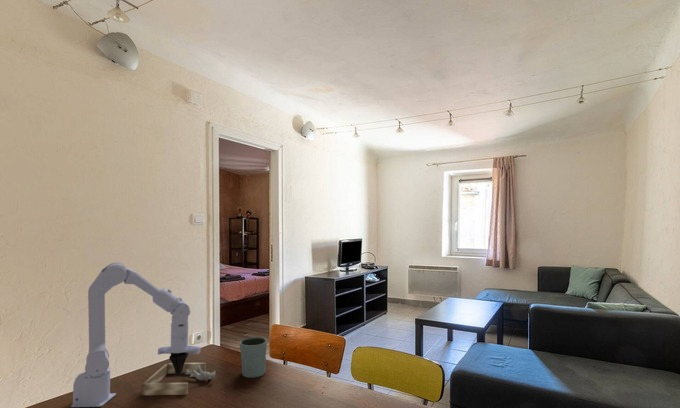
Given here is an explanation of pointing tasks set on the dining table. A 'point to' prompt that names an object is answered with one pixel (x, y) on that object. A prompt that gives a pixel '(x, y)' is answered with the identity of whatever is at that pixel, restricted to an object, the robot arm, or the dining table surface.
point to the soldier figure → (201, 374)
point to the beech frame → (157, 388)
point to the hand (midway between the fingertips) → (178, 373)
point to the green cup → (253, 356)
